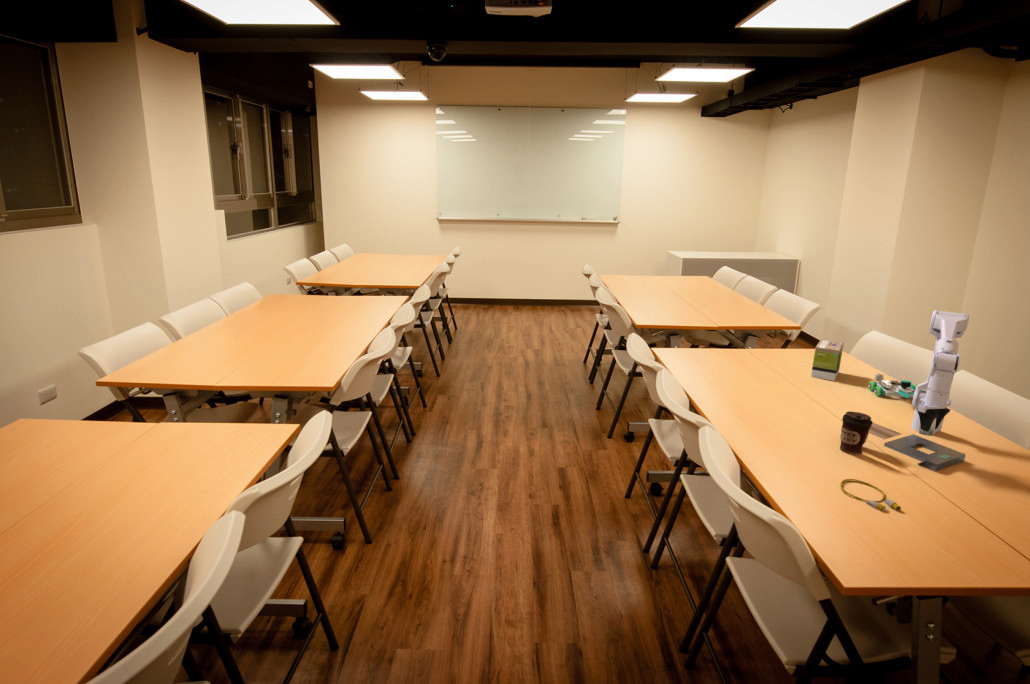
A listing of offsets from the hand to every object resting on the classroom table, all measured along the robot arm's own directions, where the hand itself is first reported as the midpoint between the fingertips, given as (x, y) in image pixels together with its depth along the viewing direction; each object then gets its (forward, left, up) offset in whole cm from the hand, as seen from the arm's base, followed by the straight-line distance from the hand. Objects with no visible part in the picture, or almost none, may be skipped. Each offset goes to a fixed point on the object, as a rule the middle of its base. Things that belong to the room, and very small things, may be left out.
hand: (928, 429), depth 179 cm
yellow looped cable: (+41, +8, -10) cm, 43 cm away
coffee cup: (+19, -12, -10) cm, 24 cm away
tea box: (-43, -66, -10) cm, 79 cm away
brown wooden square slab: (-2, -16, -9) cm, 18 cm away
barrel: (0, 0, -2) cm, 2 cm away
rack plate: (0, 0, -9) cm, 9 cm away
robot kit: (-45, -33, -10) cm, 57 cm away
